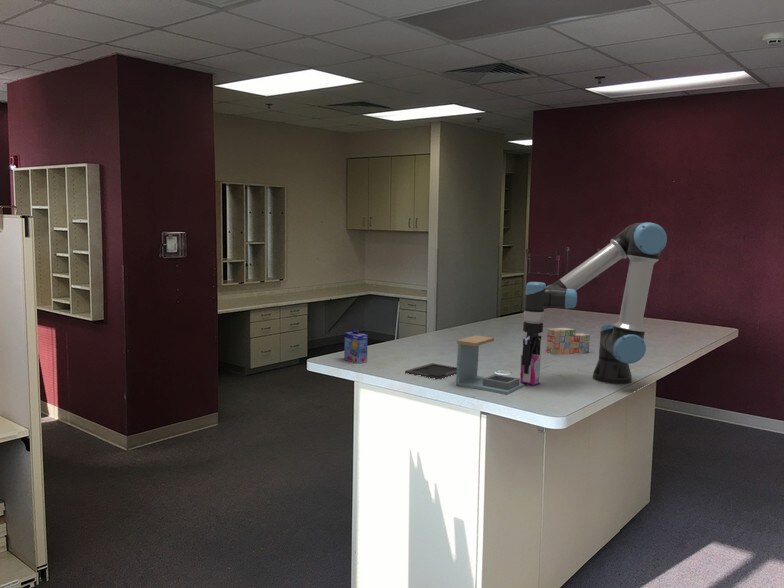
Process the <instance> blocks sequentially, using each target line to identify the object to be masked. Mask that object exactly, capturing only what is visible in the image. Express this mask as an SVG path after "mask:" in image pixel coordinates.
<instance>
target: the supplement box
mask: <svg viewBox="0 0 784 588" xmlns="http://www.w3.org/2000/svg"><path fill="white" fill-rule="evenodd" d="M521 363H522V355H520V378H519V379H520V380H519V383H521V384H524V386H525V385H527V386H530V387H534V386H537V385H540V379H541V378H540V376H541V354H540V355H535V354H532V357H531V363H530V366H531V376H530V382H524V381H523V370H524V365H522V364H521Z"/></svg>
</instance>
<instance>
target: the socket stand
mask: <svg viewBox="0 0 784 588" xmlns="http://www.w3.org/2000/svg"><path fill="white" fill-rule="evenodd" d="M494 340H495V338H494V337H490V336H483V335H471V336H469V337H465V338H460V339H458V340H456V344H457V354H456V355H457V358H456V359H457V360H456V367H457V374H455V375H456V377H455V378H456V379H455V385H456V386H458V385H459V387H464V386H465V388H469V387H471V388H470V389H475V388H476V389H475V390H480V389H482V390H481V391H485V390H487V391H486V392H491V391H492V392H491V393H496V394H497V393H498V394H501V395H502V394H503V395H509V394H512V393H513V392H515V390H516V391H518V390H519V388H520V389H522V388H523V387H525V384H521V383H520V378H518V377H512V376H508V375H507V376H506V375H500V374H496V373H495V374H492V375H489V376H487V377H486V376H480V375H478V367H479V348H480V346H482V345H485V344H488V343H491V342H495V341H494Z"/></svg>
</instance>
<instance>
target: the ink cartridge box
mask: <svg viewBox="0 0 784 588" xmlns="http://www.w3.org/2000/svg"><path fill="white" fill-rule="evenodd" d="M350 329H351V331H347V332H346V331H345V332H344V350H343V351H344V353H343V354H344V355H343V358H344V360H345V361H348V362H352V363H356V364H363V363H367V362H368V340H369V338H368V334H365V333H360V332H359V331H358V329H356V328H350Z"/></svg>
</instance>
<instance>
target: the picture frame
mask: <svg viewBox="0 0 784 588" xmlns="http://www.w3.org/2000/svg"><path fill="white" fill-rule="evenodd" d="M404 372H405V374H406V373H409V374H408V375H411V374H415V375H414V376H416V375H421V376H420V377H422V376H426V377H425V378H427V377H430V378H429V379H432V378H435V379H434V380H437V379H440V380H443V379H446V378H449V377H451V375H452V376H455V375H456V374H457V366H456V367H455V366H451V365H450V366H449V365H444V364H438V363H434V362H433V363H428V364H423V365H420V366H418V367H414V368H410V369H407V370H405V371H404ZM454 374H455V375H454ZM448 376H449V377H448ZM445 377H446V378H445ZM442 378H443V379H442Z"/></svg>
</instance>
